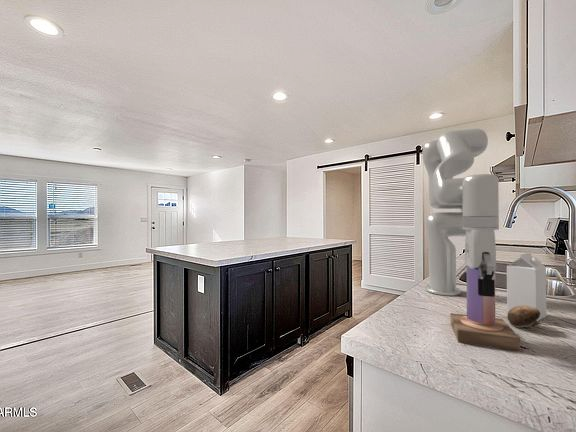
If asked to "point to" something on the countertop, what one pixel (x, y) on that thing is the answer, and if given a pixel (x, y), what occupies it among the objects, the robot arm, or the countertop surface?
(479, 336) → the walnut base
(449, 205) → the robot arm
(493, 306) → the beverage can
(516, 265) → the milk carton
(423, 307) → the countertop surface
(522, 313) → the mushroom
